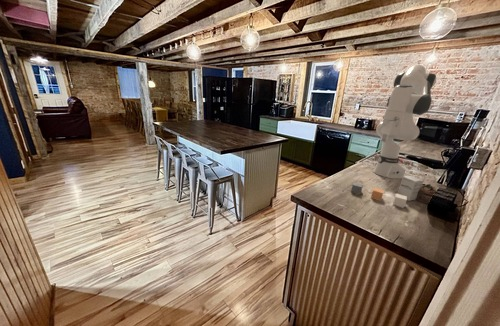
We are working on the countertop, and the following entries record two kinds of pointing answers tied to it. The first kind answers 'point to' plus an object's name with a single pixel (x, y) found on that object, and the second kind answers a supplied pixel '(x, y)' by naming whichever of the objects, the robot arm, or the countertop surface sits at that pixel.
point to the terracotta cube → (377, 194)
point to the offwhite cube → (400, 200)
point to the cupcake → (425, 193)
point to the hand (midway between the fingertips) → (385, 142)
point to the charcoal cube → (356, 188)
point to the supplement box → (410, 187)
